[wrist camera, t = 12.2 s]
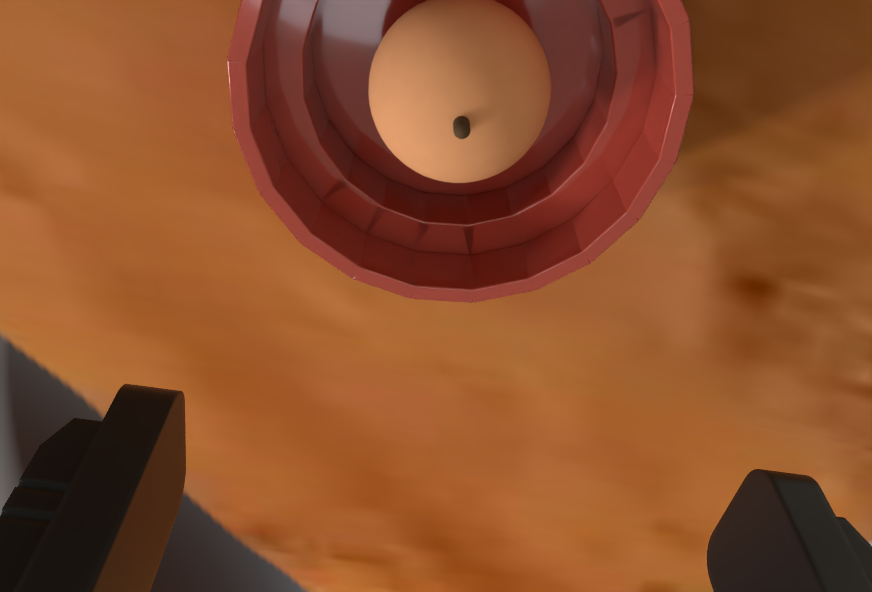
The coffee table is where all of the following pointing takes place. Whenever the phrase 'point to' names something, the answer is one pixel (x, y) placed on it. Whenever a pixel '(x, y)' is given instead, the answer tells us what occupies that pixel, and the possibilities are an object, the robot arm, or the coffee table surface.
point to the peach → (459, 89)
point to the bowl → (473, 201)
